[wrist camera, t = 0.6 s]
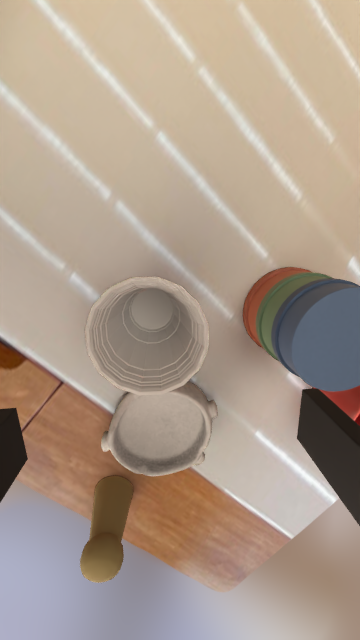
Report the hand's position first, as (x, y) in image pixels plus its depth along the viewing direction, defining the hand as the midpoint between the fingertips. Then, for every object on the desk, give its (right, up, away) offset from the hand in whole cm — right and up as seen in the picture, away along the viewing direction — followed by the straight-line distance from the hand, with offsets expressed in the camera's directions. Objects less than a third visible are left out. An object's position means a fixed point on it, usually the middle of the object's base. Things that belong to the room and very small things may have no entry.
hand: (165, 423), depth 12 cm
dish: (-2, -9, +26) cm, 28 cm away
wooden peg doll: (-10, -22, +30) cm, 38 cm away
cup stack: (+15, +6, +23) cm, 28 cm away
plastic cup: (-3, +6, +22) cm, 23 cm away
